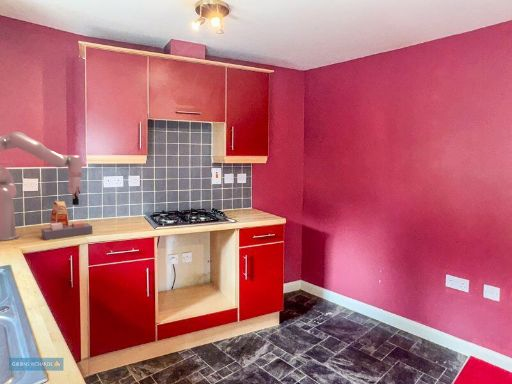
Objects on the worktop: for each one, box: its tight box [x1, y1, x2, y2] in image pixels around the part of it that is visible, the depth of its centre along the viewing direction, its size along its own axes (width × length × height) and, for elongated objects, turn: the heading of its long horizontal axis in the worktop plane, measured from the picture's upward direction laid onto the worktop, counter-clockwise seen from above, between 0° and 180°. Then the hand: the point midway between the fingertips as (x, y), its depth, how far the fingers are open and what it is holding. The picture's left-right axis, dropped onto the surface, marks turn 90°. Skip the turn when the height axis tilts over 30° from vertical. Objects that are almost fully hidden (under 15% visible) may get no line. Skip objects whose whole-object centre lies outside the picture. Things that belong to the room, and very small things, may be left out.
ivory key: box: [49, 222, 63, 230], centre depth 225 cm, size 6×6×5 cm
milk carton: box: [49, 199, 70, 226], centre depth 242 cm, size 9×9×20 cm
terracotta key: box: [71, 221, 85, 227], centre depth 232 cm, size 6×6×5 cm
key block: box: [41, 222, 93, 241], centre depth 229 cm, size 11×26×5 cm, turn 130°
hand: (75, 204), depth 231 cm, fingers closed
